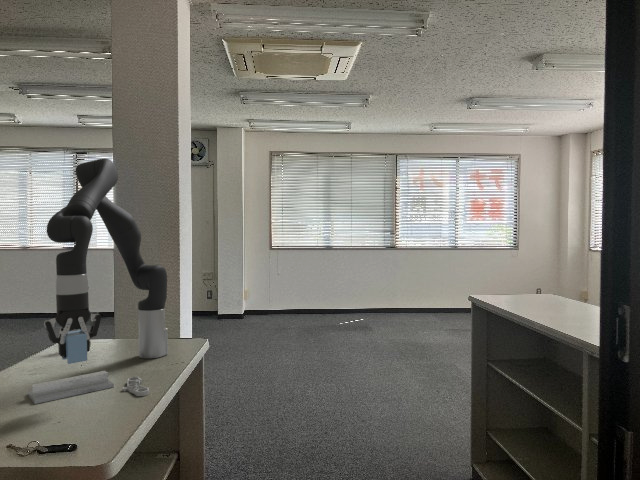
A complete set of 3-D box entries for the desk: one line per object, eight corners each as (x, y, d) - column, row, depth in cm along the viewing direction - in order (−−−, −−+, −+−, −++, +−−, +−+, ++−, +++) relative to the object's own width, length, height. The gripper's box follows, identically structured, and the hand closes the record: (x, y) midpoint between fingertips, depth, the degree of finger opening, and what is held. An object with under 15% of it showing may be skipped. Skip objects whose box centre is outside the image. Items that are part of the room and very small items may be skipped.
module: (80, 355, 127) (79, 330, 127) (87, 360, 122) (86, 334, 122) (62, 358, 124) (61, 332, 124) (68, 364, 119) (67, 336, 119)
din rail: (103, 379, 143) (103, 367, 143) (113, 387, 136) (113, 375, 136) (27, 394, 130) (27, 382, 130) (34, 404, 123) (34, 391, 123)
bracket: (152, 374, 143) (148, 389, 128) (152, 381, 143) (148, 396, 128) (125, 377, 140) (119, 392, 126) (125, 383, 140) (119, 400, 126)
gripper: (96, 287, 130) (98, 347, 131) (38, 292, 121) (40, 358, 121) (105, 289, 125) (107, 353, 125) (44, 295, 115) (47, 364, 116)
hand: (74, 355), depth 123 cm, fingers closed on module, 4 cm apart
